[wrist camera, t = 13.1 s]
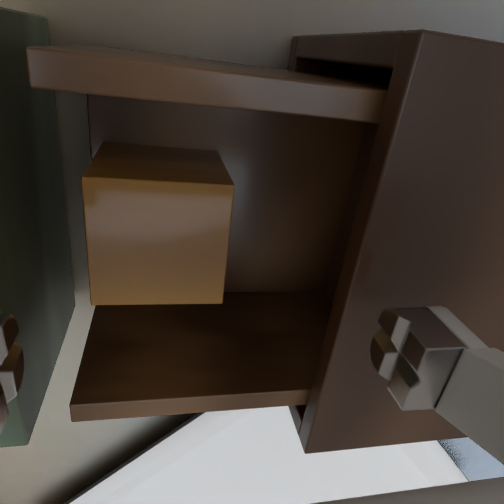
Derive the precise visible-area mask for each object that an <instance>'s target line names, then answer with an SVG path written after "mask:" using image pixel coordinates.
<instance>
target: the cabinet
mask: <svg viewBox="0 0 504 504" xmlns="http://www.w3.org/2000/svg"><path fill="white" fill-rule="evenodd" d="M288 70H289V71H297V72H305V73H312V74H320V75H328V76H336V77H343V78H351V79H359V80H367V81H374V82H382V83H388V84H389V87H388V91H387V95H386V99H385V103H384V107H383V111H382V115H381V118H380V122H379V126H378V130H377V134H376V138H375V142H374V146H373V150H372V153H371V157H370V161H369V165H368V169H367V173H366V177H365V181H364V185H363V188H362V192H361V196H360V200H359V204H358V208H357V212H356V216H355V219H354V223H353V227H352V231H351V235H350V239H349V243H348V247H347V251H346V254H345V258H344V262H343V266H342V270H341V274H340V278H339V282H338V286H337V289H336V293H335V297H334V301H333V305H332V309H331V313H330V317H329V321H328V324H327V328H326V332H325V336H324V340H323V344H322V348H321V352H320V356H319V359H318V363H317V367H316V371H315V375H314V379H313V383H312V387H311V391H310V394H309V398H308V402H307V405H294V406H288V407H289V410H290V413H291V416H292V419H293V422H294V425H295V428H296V431H297V434H298V435H299V438H300V441H301V444H302V447H303V450H304V453H305V454H310V453H320V452H329V451H339V450H349V449H358V448H368V447H377V446H387V445H397V444H406V443H416V442H425V441H435V440H445V439H454V438H464V437H468V436H466V435H465V434H464V433H462V432H461V431H460V430H459V429H457V428H456V427H455V426H453V425H452V424H451V423H450V422H448V421H447V420H446V419H444V418H443V417H442V416H441V415H439V414H438V413H437V412H435V409H427V410H409V411H402V410H401V408H400V407H399V405H398V404H397V402H396V401H395V399H394V398H393V396H392V395H391V393H390V391H389V390H388V382H389V381H388V380H387V379H385V378H384V377H382V376H381V375H379V374H378V373H377V371H376V369H375V368H374V366H373V363H372V360H371V353H370V346H371V342H372V339H373V336H374V335H375V334H376V333H377V332H378V331H379V330H380V329H381V327H380V325H379V323H378V320H379V317H380V314H381V312H382V311H383V310H384V309H385V308H405V307H422V306H443V307H445V308H447V309H448V310H449V311H451V312H452V313H453V314H454V315H455V316H456V317H457V318H458V319H459V320H460V321H461V322H462V323H463V324H464V325H465V326H466V327H467V328H469V329H470V330H471V331H472V332H473V333H474V334H475V335H476V336H477V337H478V338H479V339H480V340H481V341H482V342H483V343H484V344H485V345H487V346H488V347H489V348H496V349H498V350H501V351H503V352H504V43H501V42H495V41H489V40H483V39H477V38H471V37H465V36H459V35H453V34H447V33H441V32H436V31H430V30H424V29H421V30H406V31H404V30H401V31H382V32H362V33H342V34H323V35H303V36H294V37H293V39H292V46H291V52H290V59H289V66H288Z"/></svg>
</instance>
